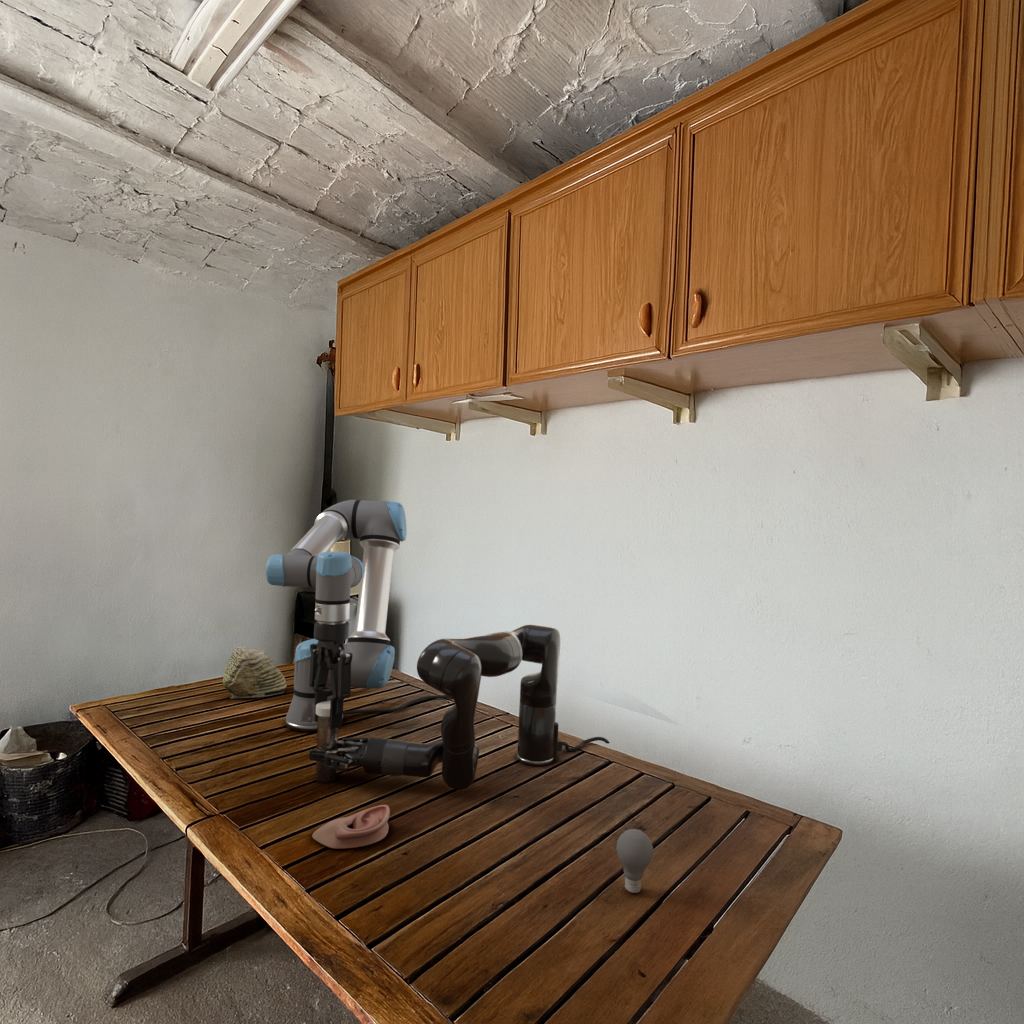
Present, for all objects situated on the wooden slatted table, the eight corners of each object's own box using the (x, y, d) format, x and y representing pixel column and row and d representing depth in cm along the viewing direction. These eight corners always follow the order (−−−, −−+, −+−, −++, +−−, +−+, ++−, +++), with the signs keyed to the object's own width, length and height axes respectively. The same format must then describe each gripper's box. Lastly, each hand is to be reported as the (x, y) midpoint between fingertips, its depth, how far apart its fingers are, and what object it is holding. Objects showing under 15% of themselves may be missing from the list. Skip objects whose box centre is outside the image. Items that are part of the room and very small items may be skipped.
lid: (316, 717, 139) (316, 709, 139) (314, 709, 144) (315, 702, 144) (342, 715, 141) (342, 708, 141) (339, 707, 146) (340, 700, 146)
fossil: (218, 695, 195) (220, 647, 195) (278, 685, 208) (279, 640, 207) (228, 703, 189) (230, 653, 188) (289, 692, 201) (290, 645, 201)
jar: (311, 778, 142) (314, 707, 142) (328, 771, 146) (331, 702, 146) (323, 784, 140) (325, 712, 139) (340, 778, 143) (343, 707, 143)
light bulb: (610, 879, 108) (613, 822, 108) (644, 879, 109) (647, 822, 109) (619, 902, 102) (622, 840, 102) (655, 901, 103) (658, 840, 103)
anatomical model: (304, 822, 115) (334, 794, 126) (303, 844, 115) (333, 813, 126) (372, 833, 112) (397, 803, 124) (371, 855, 113) (396, 823, 124)
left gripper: (295, 616, 145) (291, 716, 146) (340, 630, 133) (336, 739, 133) (324, 613, 151) (320, 709, 151) (370, 626, 139) (366, 731, 139)
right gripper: (398, 728, 148) (328, 722, 150) (378, 752, 134) (301, 745, 136) (397, 760, 148) (327, 754, 150) (377, 788, 134) (300, 780, 136)
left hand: (327, 723), depth 142 cm, fingers closed on lid, 5 cm apart
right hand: (315, 750), depth 143 cm, fingers closed on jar, 4 cm apart
